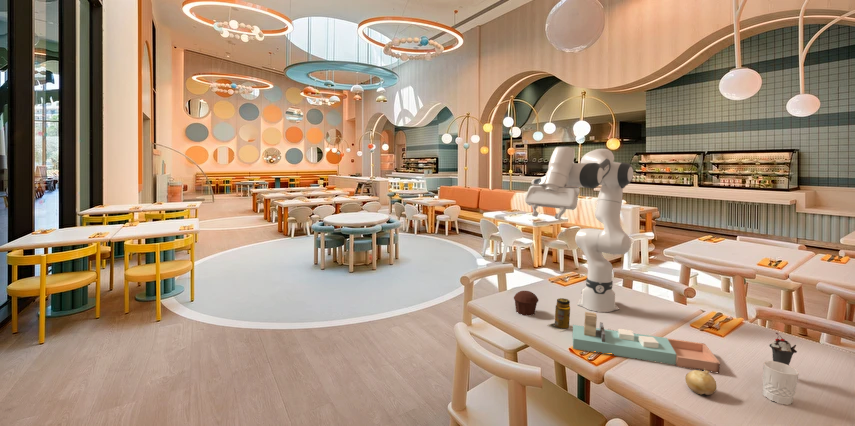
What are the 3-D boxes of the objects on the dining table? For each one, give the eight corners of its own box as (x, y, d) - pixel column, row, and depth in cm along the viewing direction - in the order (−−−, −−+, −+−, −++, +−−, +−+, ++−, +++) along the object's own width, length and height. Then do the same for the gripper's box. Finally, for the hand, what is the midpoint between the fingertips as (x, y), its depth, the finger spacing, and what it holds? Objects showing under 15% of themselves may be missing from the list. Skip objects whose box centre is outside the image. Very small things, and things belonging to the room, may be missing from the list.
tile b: (638, 340, 147) (638, 335, 146) (652, 342, 146) (653, 337, 145) (643, 346, 142) (643, 341, 141) (658, 348, 141) (658, 342, 141)
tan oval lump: (713, 402, 115) (716, 380, 114) (682, 391, 121) (684, 370, 120) (716, 391, 121) (719, 369, 120) (686, 381, 126) (688, 360, 126)
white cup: (758, 388, 123) (762, 358, 122) (791, 396, 119) (796, 365, 117) (761, 400, 117) (765, 368, 115) (797, 409, 112) (801, 377, 111)
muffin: (543, 313, 183) (544, 293, 182) (527, 318, 177) (528, 297, 176) (523, 306, 193) (524, 286, 192) (508, 310, 187) (508, 290, 186)
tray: (666, 346, 151) (667, 338, 150) (704, 352, 147) (704, 343, 146) (677, 366, 136) (678, 357, 135) (719, 373, 132) (720, 363, 131)
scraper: (583, 327, 159) (584, 308, 158) (602, 329, 156) (603, 310, 155) (584, 339, 147) (586, 319, 146) (604, 342, 145) (606, 321, 144)
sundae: (760, 371, 133) (765, 329, 131) (778, 370, 134) (783, 329, 132) (779, 382, 127) (785, 338, 125) (798, 381, 127) (804, 338, 125)
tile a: (617, 333, 153) (618, 328, 153) (631, 335, 151) (632, 330, 151) (619, 338, 148) (619, 333, 148) (633, 340, 147) (634, 335, 146)
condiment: (573, 327, 168) (575, 301, 167) (560, 332, 163) (562, 304, 162) (559, 321, 174) (560, 296, 173) (546, 326, 169) (548, 299, 168)
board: (572, 333, 161) (573, 324, 161) (666, 347, 150) (667, 337, 149) (572, 348, 148) (573, 338, 148) (675, 365, 137) (676, 354, 136)
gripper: (584, 189, 146) (575, 223, 143) (535, 186, 160) (526, 217, 158) (578, 182, 141) (568, 217, 139) (528, 179, 156) (518, 211, 153)
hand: (545, 217), depth 148 cm, fingers open, 8 cm apart
